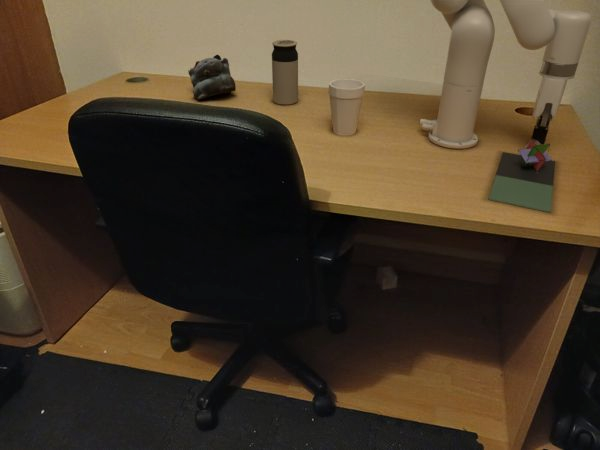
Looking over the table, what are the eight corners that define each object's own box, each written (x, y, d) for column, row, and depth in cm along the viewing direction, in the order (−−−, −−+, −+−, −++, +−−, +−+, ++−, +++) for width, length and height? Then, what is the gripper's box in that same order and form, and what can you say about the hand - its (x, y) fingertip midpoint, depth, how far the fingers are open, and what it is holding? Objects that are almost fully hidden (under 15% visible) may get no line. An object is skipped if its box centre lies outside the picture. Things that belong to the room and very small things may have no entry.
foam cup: (366, 128, 134) (369, 81, 127) (355, 140, 127) (358, 91, 120) (334, 122, 137) (336, 77, 130) (322, 134, 130) (323, 86, 123)
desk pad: (488, 199, 101) (488, 198, 100) (502, 153, 120) (502, 152, 120) (550, 212, 96) (550, 211, 96) (554, 162, 116) (555, 161, 116)
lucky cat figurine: (187, 102, 151) (176, 58, 150) (202, 105, 163) (192, 64, 161) (231, 90, 148) (220, 44, 146) (243, 94, 159) (233, 52, 158)
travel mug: (302, 100, 154) (303, 41, 144) (289, 107, 148) (288, 46, 138) (282, 95, 157) (281, 38, 148) (268, 102, 152) (266, 43, 142)
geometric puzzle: (561, 168, 108) (556, 133, 108) (534, 170, 106) (529, 135, 107) (540, 173, 115) (535, 141, 115) (514, 176, 113) (509, 143, 114)
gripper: (541, 59, 118) (523, 130, 128) (538, 75, 107) (519, 151, 117) (575, 62, 116) (554, 134, 126) (576, 79, 104) (552, 156, 114)
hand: (537, 142), depth 121 cm, fingers closed
